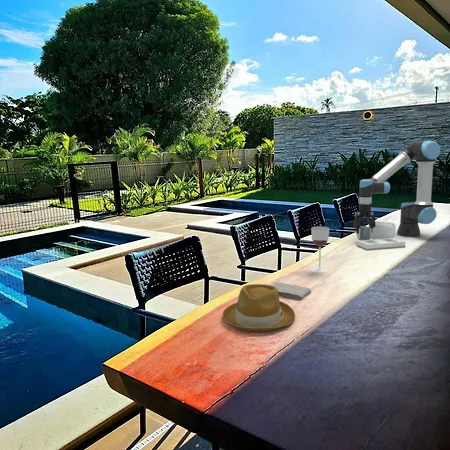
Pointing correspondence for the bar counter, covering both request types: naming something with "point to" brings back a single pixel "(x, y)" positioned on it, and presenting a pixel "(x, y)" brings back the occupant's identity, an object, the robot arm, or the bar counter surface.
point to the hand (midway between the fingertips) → (364, 238)
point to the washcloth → (291, 291)
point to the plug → (364, 233)
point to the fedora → (259, 309)
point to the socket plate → (380, 244)
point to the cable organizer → (383, 230)
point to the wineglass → (320, 243)
